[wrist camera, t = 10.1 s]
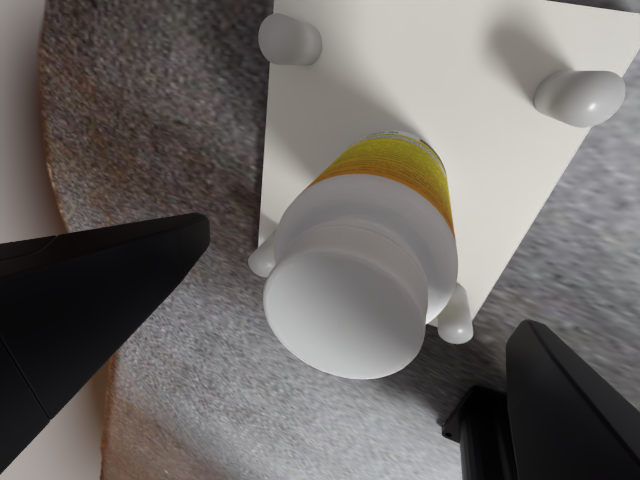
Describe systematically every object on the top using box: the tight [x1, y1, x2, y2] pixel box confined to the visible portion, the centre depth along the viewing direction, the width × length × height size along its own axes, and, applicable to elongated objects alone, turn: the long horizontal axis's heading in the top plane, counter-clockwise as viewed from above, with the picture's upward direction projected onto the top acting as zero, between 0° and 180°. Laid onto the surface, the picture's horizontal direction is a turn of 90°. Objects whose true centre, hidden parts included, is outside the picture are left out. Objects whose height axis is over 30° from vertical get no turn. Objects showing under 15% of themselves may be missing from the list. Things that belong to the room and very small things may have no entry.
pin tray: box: [248, 0, 640, 344], centre depth 15 cm, size 16×14×4 cm
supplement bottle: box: [263, 130, 458, 379], centre depth 11 cm, size 6×6×10 cm
